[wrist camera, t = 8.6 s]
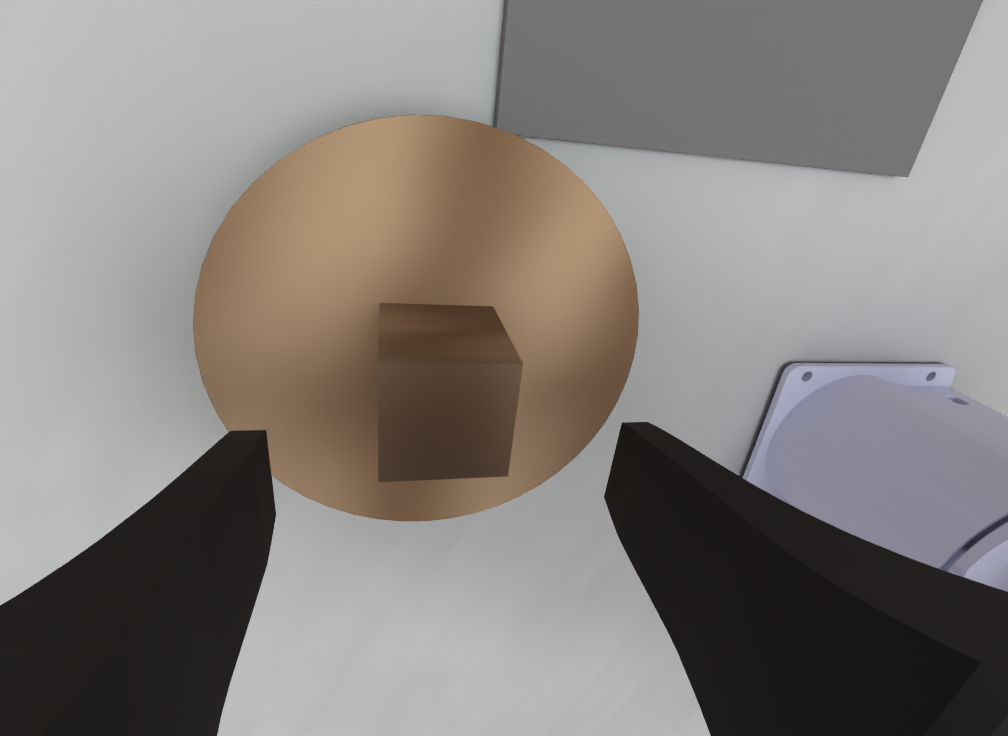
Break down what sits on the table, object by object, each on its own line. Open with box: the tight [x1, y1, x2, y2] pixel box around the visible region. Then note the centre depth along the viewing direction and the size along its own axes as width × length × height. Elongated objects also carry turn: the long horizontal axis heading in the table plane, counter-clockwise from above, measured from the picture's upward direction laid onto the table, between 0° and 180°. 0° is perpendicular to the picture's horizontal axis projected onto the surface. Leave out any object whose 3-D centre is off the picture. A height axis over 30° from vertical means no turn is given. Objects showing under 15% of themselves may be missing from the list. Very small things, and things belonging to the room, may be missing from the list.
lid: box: [193, 115, 639, 521], centre depth 13 cm, size 12×12×4 cm
